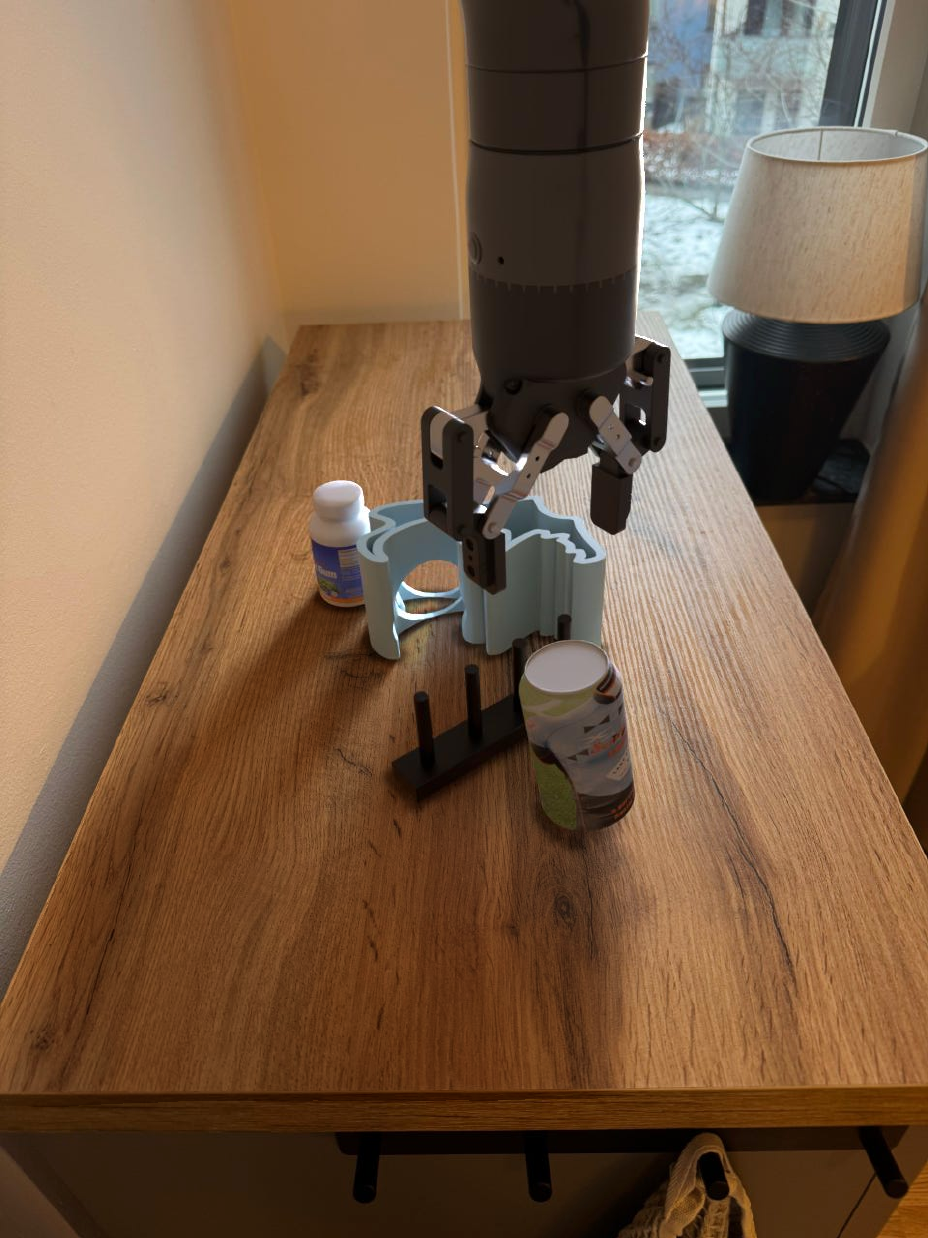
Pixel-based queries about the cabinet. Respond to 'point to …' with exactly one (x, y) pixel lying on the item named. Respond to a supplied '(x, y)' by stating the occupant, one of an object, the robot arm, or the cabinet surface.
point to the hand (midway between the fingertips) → (550, 555)
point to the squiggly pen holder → (533, 599)
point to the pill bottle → (338, 541)
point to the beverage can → (578, 735)
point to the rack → (467, 730)
